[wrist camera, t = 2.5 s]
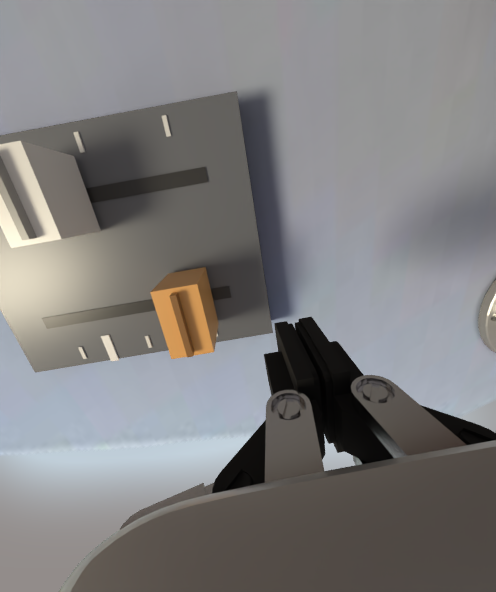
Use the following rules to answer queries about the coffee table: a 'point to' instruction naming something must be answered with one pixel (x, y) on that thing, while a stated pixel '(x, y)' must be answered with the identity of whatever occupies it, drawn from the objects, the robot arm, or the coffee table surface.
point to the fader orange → (186, 312)
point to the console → (140, 235)
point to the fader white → (42, 196)
